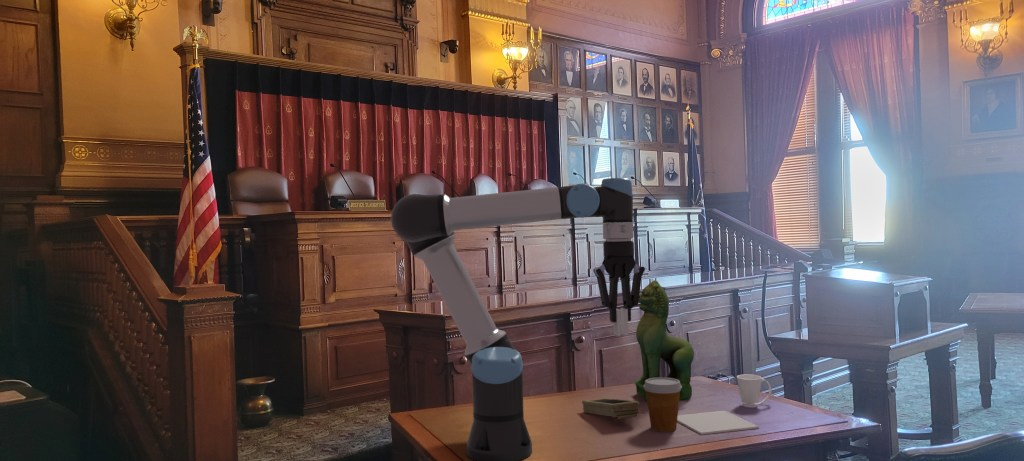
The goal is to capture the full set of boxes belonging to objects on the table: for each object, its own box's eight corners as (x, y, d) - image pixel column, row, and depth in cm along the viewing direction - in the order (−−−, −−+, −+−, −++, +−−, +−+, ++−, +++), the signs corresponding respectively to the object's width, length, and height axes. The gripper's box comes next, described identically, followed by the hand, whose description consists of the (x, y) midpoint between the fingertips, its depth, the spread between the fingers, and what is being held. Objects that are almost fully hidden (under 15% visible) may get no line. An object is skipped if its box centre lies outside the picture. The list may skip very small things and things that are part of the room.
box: (615, 424, 182) (613, 404, 183) (576, 418, 203) (574, 400, 203) (643, 420, 185) (641, 401, 186) (602, 415, 206) (600, 397, 206)
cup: (732, 403, 205) (731, 374, 205) (765, 400, 206) (764, 372, 206) (743, 409, 198) (743, 380, 198) (777, 407, 199) (777, 378, 199)
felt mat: (701, 434, 176) (701, 432, 176) (670, 418, 191) (670, 416, 191) (758, 428, 180) (758, 426, 180) (724, 412, 195) (724, 410, 195)
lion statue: (631, 393, 219) (628, 279, 219) (682, 390, 222) (679, 277, 222) (646, 404, 206) (643, 282, 205) (701, 400, 209) (698, 280, 208)
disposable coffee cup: (639, 431, 180) (638, 383, 180) (650, 421, 188) (649, 375, 188) (677, 435, 176) (676, 386, 175) (687, 425, 184) (686, 378, 184)
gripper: (596, 241, 173) (599, 339, 174) (651, 239, 177) (654, 335, 177) (585, 241, 181) (588, 334, 181) (638, 239, 184) (641, 331, 184)
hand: (620, 334), depth 179 cm, fingers closed
